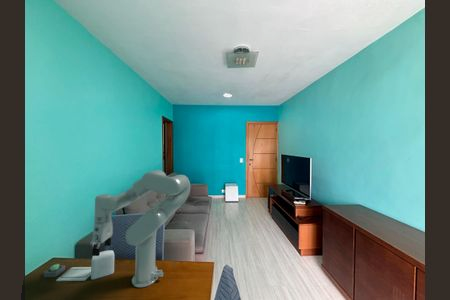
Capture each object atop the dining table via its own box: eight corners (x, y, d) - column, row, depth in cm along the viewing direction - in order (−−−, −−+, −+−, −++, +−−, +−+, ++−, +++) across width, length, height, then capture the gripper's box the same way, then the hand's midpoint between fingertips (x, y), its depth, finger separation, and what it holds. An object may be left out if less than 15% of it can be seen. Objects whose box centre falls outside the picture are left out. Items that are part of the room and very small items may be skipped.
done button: (61, 268, 100) (61, 263, 100) (55, 272, 96) (55, 268, 96) (54, 268, 100) (54, 263, 100) (48, 272, 96) (48, 268, 96)
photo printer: (114, 269, 102) (114, 247, 102) (114, 273, 98) (114, 250, 98) (91, 276, 96) (91, 252, 96) (90, 281, 92) (90, 256, 92)
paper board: (97, 267, 103) (97, 266, 103) (84, 280, 93) (84, 279, 93) (72, 268, 102) (72, 267, 102) (56, 281, 92) (56, 279, 92)
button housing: (65, 269, 101) (65, 265, 101) (55, 277, 95) (55, 272, 95) (54, 269, 101) (54, 265, 101) (43, 277, 95) (43, 272, 95)
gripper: (99, 225, 89) (98, 260, 89) (119, 212, 106) (118, 242, 106) (83, 224, 88) (82, 260, 88) (105, 212, 106) (104, 242, 106)
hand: (102, 250), depth 97 cm, fingers open, 9 cm apart
